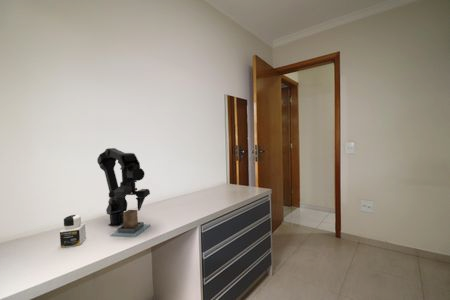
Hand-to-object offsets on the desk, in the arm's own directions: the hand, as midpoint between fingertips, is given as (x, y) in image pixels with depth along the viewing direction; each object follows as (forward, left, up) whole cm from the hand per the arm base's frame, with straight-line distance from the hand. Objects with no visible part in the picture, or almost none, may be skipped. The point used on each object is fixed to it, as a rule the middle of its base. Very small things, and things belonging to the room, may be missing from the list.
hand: (130, 210), depth 102 cm
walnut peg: (0, 0, -10) cm, 10 cm away
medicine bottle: (-19, -14, -10) cm, 25 cm away
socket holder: (0, 0, -10) cm, 10 cm away
